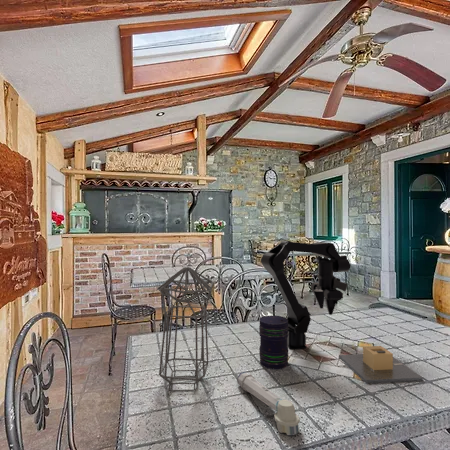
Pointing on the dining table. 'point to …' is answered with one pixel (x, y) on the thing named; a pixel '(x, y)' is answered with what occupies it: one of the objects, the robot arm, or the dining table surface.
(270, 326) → the dark purple barrel
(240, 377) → the toothbrush head
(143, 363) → the dining table surface
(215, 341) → the dining table surface
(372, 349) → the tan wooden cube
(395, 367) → the hub plate
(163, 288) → the geometric lantern
